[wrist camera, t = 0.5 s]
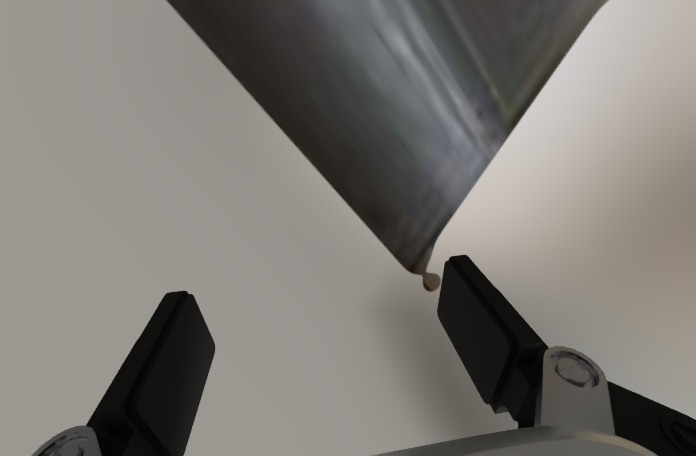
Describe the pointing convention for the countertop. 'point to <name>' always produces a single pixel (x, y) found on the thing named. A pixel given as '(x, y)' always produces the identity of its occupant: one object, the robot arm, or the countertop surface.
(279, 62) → the countertop surface
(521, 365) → the robot arm
